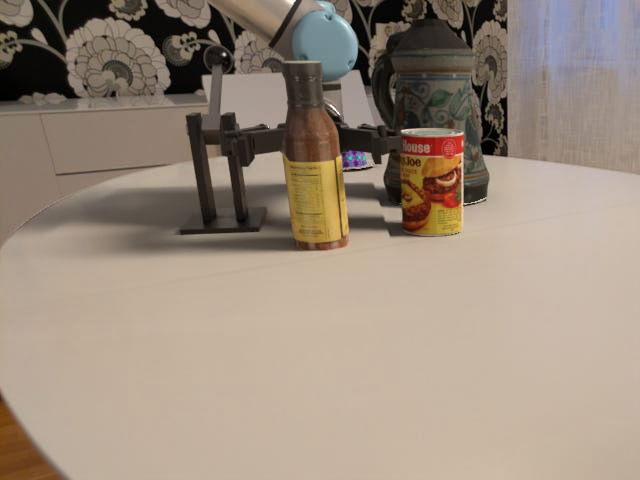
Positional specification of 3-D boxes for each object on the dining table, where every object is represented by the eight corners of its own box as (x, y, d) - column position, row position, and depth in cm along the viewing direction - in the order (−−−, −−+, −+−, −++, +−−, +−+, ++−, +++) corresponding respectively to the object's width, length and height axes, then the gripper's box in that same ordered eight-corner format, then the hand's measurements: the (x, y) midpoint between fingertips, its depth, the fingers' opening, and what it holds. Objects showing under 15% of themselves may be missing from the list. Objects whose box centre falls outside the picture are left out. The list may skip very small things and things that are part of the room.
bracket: (199, 218, 91) (181, 110, 85) (268, 216, 93) (254, 109, 87) (181, 240, 80) (159, 118, 75) (259, 237, 82) (244, 117, 76)
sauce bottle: (321, 239, 81) (304, 60, 73) (361, 247, 78) (348, 60, 70) (280, 252, 76) (258, 60, 68) (322, 260, 73) (303, 61, 65)
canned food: (393, 225, 88) (389, 129, 83) (447, 219, 92) (446, 127, 87) (416, 239, 82) (413, 136, 77) (474, 232, 85) (474, 133, 80)
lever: (207, 63, 91) (201, 38, 88) (235, 63, 92) (230, 39, 89) (200, 149, 82) (193, 124, 79) (231, 148, 83) (225, 124, 80)
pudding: (357, 161, 140) (355, 134, 138) (389, 168, 132) (387, 140, 129) (304, 166, 133) (301, 138, 131) (334, 174, 125) (332, 144, 122)
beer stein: (480, 210, 97) (482, 16, 87) (351, 205, 100) (338, 16, 89) (496, 189, 112) (499, 22, 102) (383, 185, 115) (375, 21, 104)
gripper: (411, 158, 92) (431, 186, 73) (220, 161, 88) (190, 192, 69) (409, 100, 89) (430, 113, 70) (211, 100, 85) (177, 114, 66)
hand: (311, 152), depth 69 cm, fingers open, 13 cm apart
